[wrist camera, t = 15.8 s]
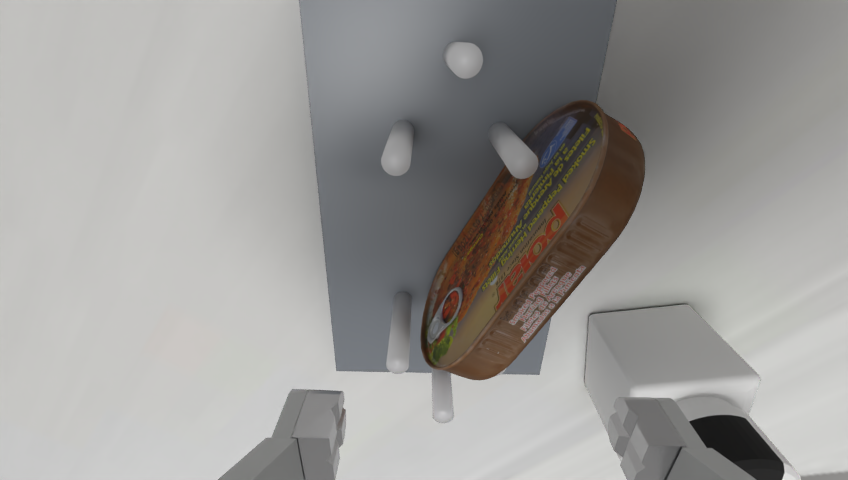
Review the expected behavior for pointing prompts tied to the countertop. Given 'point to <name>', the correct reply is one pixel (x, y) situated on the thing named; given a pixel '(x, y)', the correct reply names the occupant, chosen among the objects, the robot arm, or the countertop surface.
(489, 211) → the tin
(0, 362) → the countertop surface
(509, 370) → the pin tray
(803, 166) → the countertop surface
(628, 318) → the medicine bottle
